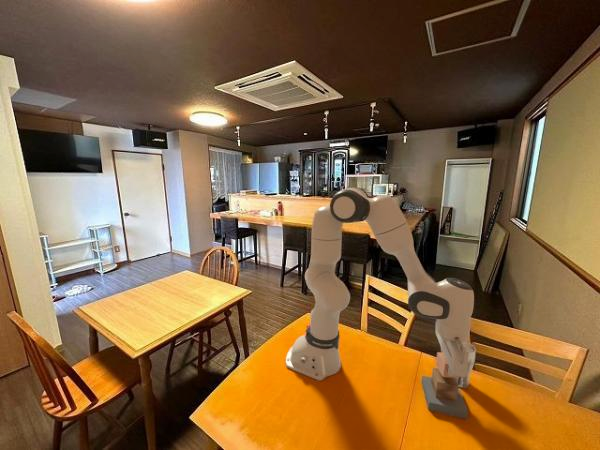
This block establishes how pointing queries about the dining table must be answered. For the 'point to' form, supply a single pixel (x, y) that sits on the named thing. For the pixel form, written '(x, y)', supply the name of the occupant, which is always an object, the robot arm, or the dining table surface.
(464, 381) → the beer glass
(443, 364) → the terracotta cube
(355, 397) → the dining table surface
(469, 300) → the robot arm
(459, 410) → the plinth
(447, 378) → the walnut cube
